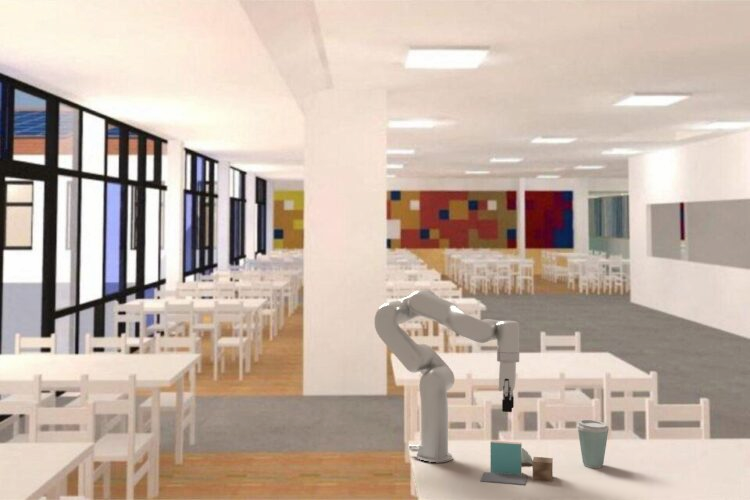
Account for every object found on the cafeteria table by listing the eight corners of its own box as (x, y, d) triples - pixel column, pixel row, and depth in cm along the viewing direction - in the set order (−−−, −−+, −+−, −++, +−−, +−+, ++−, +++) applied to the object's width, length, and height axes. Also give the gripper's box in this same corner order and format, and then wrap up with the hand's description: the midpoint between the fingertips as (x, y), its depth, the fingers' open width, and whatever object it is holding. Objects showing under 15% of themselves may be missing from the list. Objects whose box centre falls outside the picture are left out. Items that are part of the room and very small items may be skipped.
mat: (480, 481, 233) (480, 480, 233) (484, 472, 242) (484, 471, 242) (525, 485, 229) (525, 484, 229) (527, 476, 239) (527, 475, 239)
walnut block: (532, 480, 235) (532, 461, 235) (533, 474, 241) (533, 456, 241) (551, 481, 233) (551, 463, 233) (552, 476, 239) (552, 458, 239)
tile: (490, 472, 243) (490, 442, 243) (491, 470, 245) (491, 440, 245) (521, 474, 240) (521, 444, 240) (521, 472, 243) (521, 442, 243)
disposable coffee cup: (610, 463, 254) (611, 420, 254) (606, 471, 244) (606, 426, 244) (579, 459, 258) (579, 417, 258) (574, 467, 248) (574, 423, 248)
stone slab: (507, 470, 251) (536, 467, 250) (506, 462, 251) (535, 459, 250) (498, 453, 273) (525, 450, 273) (497, 446, 273) (524, 442, 273)
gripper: (499, 353, 259) (499, 404, 259) (494, 360, 243) (494, 414, 242) (521, 354, 257) (520, 405, 257) (517, 361, 241) (517, 415, 240)
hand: (508, 409), depth 250 cm, fingers open, 6 cm apart
